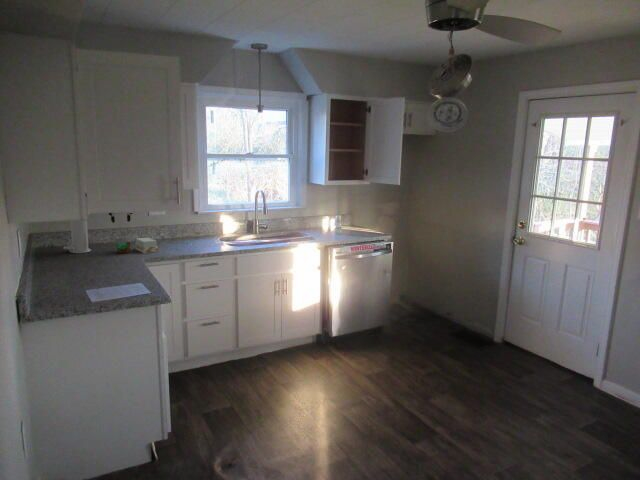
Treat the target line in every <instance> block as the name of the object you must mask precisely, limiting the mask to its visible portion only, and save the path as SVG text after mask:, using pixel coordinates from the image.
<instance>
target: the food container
mask: <svg viewBox="0 0 640 480" xmlns="http://www.w3.org/2000/svg"><path fill="white" fill-rule="evenodd" d="M114 242H115V245H116V246H115V247H116V253H117V254H120V255H121V254H122V255H125V254H131V243H132V239H131V238H125V237H120V236H119V235H117V236H116V237H115V238H114Z"/></svg>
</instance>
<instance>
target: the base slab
mask: <svg viewBox="0 0 640 480" xmlns="http://www.w3.org/2000/svg"><path fill="white" fill-rule="evenodd" d="M135 250H136V251H139V252H140V253H143V254H149V253H158V252H159V246H157V247H146V248H143V247H141V246H139V245H136V244H135Z"/></svg>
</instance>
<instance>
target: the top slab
mask: <svg viewBox="0 0 640 480" xmlns="http://www.w3.org/2000/svg"><path fill="white" fill-rule="evenodd" d="M157 244H158V243H157V240H155V239H154V238H151V237H141V238H140V237H138V238H135V246H136V245H139V246H141V247H143V248H146V247H157Z"/></svg>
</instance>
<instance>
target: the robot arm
mask: <svg viewBox="0 0 640 480" xmlns="http://www.w3.org/2000/svg"><path fill="white" fill-rule="evenodd" d="M107 214H108V215H109V216H110V221H111V223H113V224H115V221H116V220H115V215H116V214H117V215H119V214H120V215H121V214H122V213H112V212H110V213H108V212H107ZM126 214H127V215H126V221H127V222H130V221H131V216H132V214H133V213H130V212H129V213H126ZM89 215H91V214H90V213H88V216H89ZM88 230H89V229H88V219H87V220H86V221H71V220H70V231H71V232H70V233H71V244H70V245H67V246H66V245H64V246H63V250H69V253H72V254H85V253H90V252H91V251H92V249H91V248H89V235H88V234H89V233H88V232H89V231H88Z"/></svg>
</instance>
